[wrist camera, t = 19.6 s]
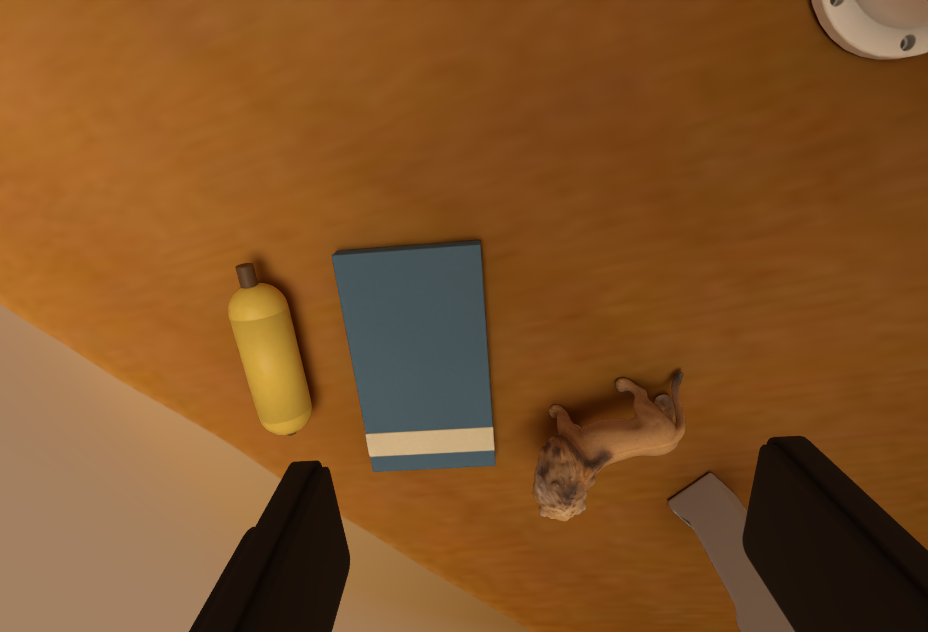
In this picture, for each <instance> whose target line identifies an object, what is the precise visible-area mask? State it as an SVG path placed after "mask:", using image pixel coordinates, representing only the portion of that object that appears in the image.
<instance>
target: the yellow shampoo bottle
mask: <svg viewBox="0 0 928 632" xmlns="http://www.w3.org/2000/svg"><path fill="white" fill-rule="evenodd" d="M235 268H236V271H237V275H238V279H239V282H240V286H241V288H240V289H238V290H237V291H236V292H235V293H234V294H233V296H232V298H231V299H230V302H229V305H228V314H229V319H230V322H231V326H232V329H233V332H234V336H235V339H236V343H237V346H238V349H239V353H240V356H241V360H242V363H243V366H244V370H245V373H246V376H247V380H248V383H249V387H250V390H251V393H252V397H253V400H254V404H255V407H256V410H257V414H258V417H259V420H260V422H261V424H262V425H263V426H264V427H265V428H266V429H267V430H268V431H270V432H272V433H275V434H279V435H293V434H295V433H296V432H297V431H298V430H300V429H301V428H302V427H303V426H304V425H305V424H306V423H307V421H308V420H309V418H310V415H311V412H312V403H311V398H310V394H309V390H308V385H307V381H306V377H305V373H304V369H303V365H302V360H301V356H300V352H299V348H298V344H297V340H296V335H295V331H294V327H293V323H292V319H291V315H290V311H289V306H288V303H287V300H286V298H285V297H284V295H283V294H282V293H281V292H280V291H279V290H278V289H277V288H275V287H274V286H271V285H269V284H265V283H258V281H257V277H256V273H255V269H254V266H253V264H252V263H245V264H240V265H237V266H236V267H235Z"/></svg>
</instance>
